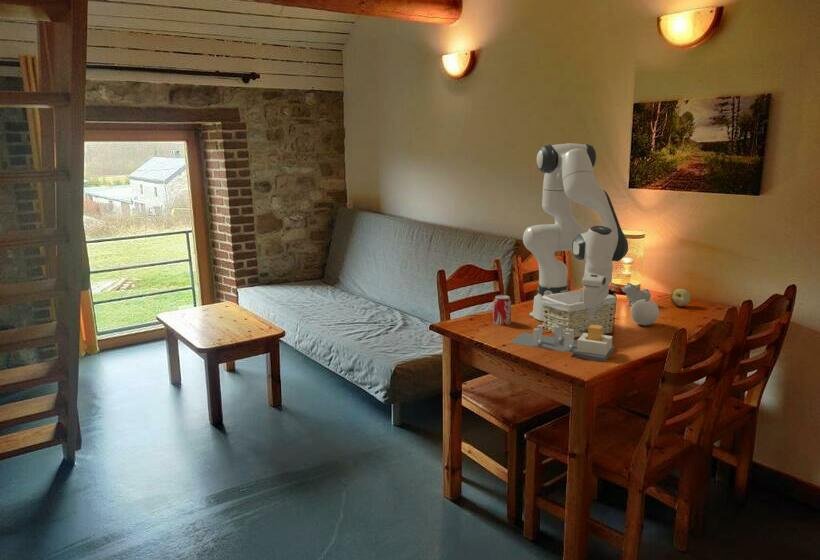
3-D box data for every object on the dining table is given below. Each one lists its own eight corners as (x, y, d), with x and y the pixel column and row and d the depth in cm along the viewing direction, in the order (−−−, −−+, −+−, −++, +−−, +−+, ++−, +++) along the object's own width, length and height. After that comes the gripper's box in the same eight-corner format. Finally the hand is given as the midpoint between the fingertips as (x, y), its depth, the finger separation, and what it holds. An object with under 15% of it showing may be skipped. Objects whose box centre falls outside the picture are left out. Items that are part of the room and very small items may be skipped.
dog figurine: (618, 305, 267) (619, 281, 265) (646, 304, 269) (647, 280, 266) (623, 308, 262) (625, 284, 260) (651, 307, 263) (653, 283, 261)
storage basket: (566, 343, 217) (568, 304, 213) (538, 332, 231) (539, 294, 228) (616, 334, 227) (619, 296, 224) (586, 323, 241) (588, 287, 238)
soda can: (501, 329, 234) (502, 299, 232) (489, 325, 240) (489, 296, 237) (514, 326, 238) (515, 296, 236) (501, 322, 244) (502, 293, 241)
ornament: (660, 329, 232) (662, 298, 229) (632, 328, 234) (634, 298, 231) (655, 321, 242) (657, 292, 239) (628, 320, 244) (630, 291, 241)
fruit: (666, 305, 265) (667, 288, 264) (679, 303, 269) (681, 286, 267) (680, 309, 259) (681, 291, 257) (694, 307, 262) (695, 289, 260)
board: (522, 336, 226) (523, 317, 224) (613, 349, 209) (614, 328, 208) (509, 347, 214) (509, 326, 212) (604, 362, 198) (605, 340, 196)
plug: (580, 345, 210) (581, 323, 208) (601, 348, 206) (603, 325, 205) (577, 348, 207) (578, 326, 205) (599, 351, 203) (600, 329, 201)
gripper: (596, 268, 210) (593, 306, 214) (580, 280, 193) (578, 322, 197) (614, 270, 207) (612, 308, 211) (600, 283, 190) (597, 324, 193)
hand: (595, 315), depth 203 cm, fingers open, 8 cm apart
